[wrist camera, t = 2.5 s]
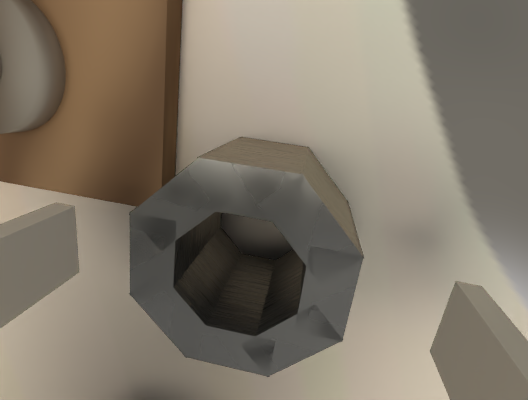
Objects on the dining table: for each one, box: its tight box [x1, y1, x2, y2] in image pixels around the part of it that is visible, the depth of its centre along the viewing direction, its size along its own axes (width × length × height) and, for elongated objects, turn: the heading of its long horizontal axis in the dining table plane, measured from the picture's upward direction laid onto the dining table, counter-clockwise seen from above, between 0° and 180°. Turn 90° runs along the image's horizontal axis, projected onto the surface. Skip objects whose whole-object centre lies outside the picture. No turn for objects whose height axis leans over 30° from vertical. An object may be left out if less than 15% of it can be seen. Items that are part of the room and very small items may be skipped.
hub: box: [129, 137, 364, 377], centre depth 14 cm, size 8×8×6 cm
